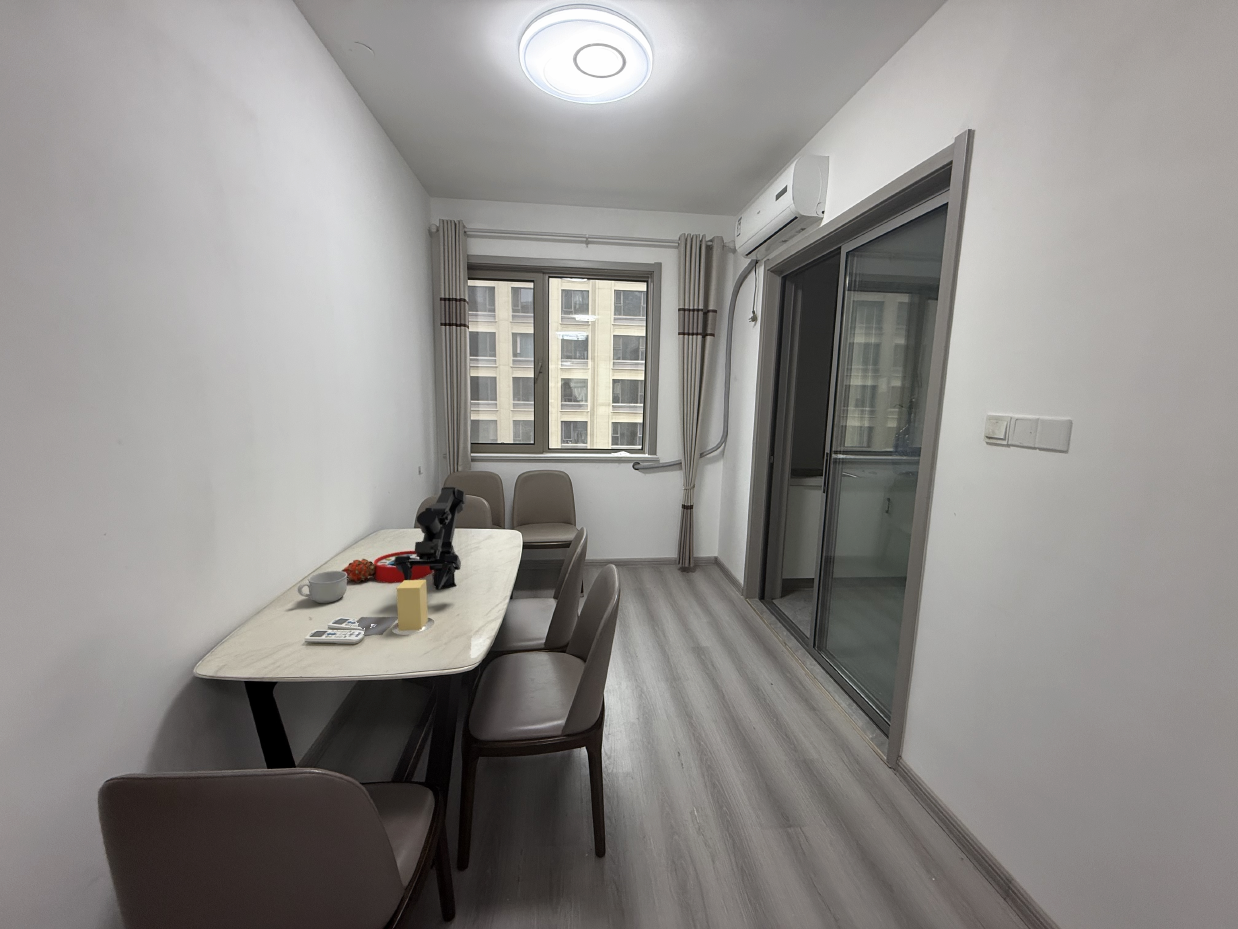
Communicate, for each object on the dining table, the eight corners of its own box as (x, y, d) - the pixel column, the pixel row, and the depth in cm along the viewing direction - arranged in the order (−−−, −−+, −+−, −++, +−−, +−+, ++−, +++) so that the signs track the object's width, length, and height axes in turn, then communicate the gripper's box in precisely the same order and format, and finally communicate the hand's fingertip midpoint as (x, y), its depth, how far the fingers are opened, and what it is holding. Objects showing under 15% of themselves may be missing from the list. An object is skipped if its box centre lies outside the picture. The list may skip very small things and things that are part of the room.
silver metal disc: (430, 614, 142) (429, 600, 142) (438, 629, 133) (437, 614, 132) (389, 623, 136) (388, 609, 136) (394, 639, 127) (394, 623, 126)
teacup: (342, 590, 162) (341, 567, 161) (352, 599, 155) (351, 575, 154) (294, 602, 153) (292, 577, 152) (302, 612, 145) (300, 587, 144)
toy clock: (440, 559, 178) (382, 571, 165) (441, 574, 179) (383, 587, 166) (421, 547, 193) (367, 557, 180) (422, 561, 194) (368, 572, 181)
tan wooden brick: (406, 620, 137) (404, 580, 136) (427, 620, 138) (426, 579, 136) (398, 630, 131) (396, 588, 130) (421, 629, 132) (419, 587, 130)
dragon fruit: (380, 583, 173) (343, 592, 169) (380, 564, 179) (344, 572, 175) (374, 570, 167) (336, 579, 164) (374, 551, 173) (336, 559, 169)
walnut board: (333, 643, 126) (332, 639, 126) (363, 616, 142) (363, 613, 142) (425, 643, 127) (424, 639, 127) (445, 616, 143) (445, 613, 143)
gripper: (394, 530, 145) (381, 578, 136) (457, 529, 147) (449, 576, 137) (404, 547, 154) (393, 594, 144) (464, 546, 156) (457, 592, 146)
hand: (422, 589), depth 143 cm, fingers open, 9 cm apart
